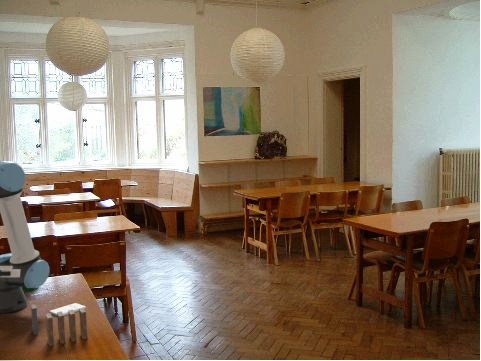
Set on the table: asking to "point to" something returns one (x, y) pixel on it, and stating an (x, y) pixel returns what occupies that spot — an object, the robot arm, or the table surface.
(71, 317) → the walnut domino
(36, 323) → the black domino
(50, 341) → the walnut domino
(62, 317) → the walnut domino
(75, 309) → the external hard drive
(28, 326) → the table surface
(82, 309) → the walnut domino
